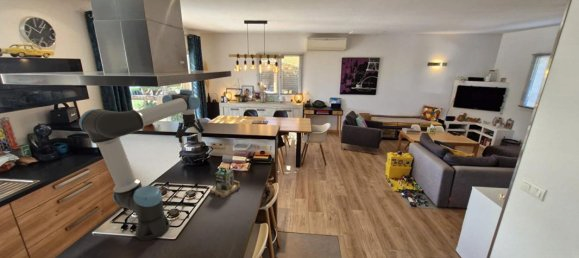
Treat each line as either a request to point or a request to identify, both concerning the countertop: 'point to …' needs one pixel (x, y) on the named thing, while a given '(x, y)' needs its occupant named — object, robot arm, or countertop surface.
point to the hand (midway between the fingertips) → (191, 144)
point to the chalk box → (224, 179)
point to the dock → (223, 192)
